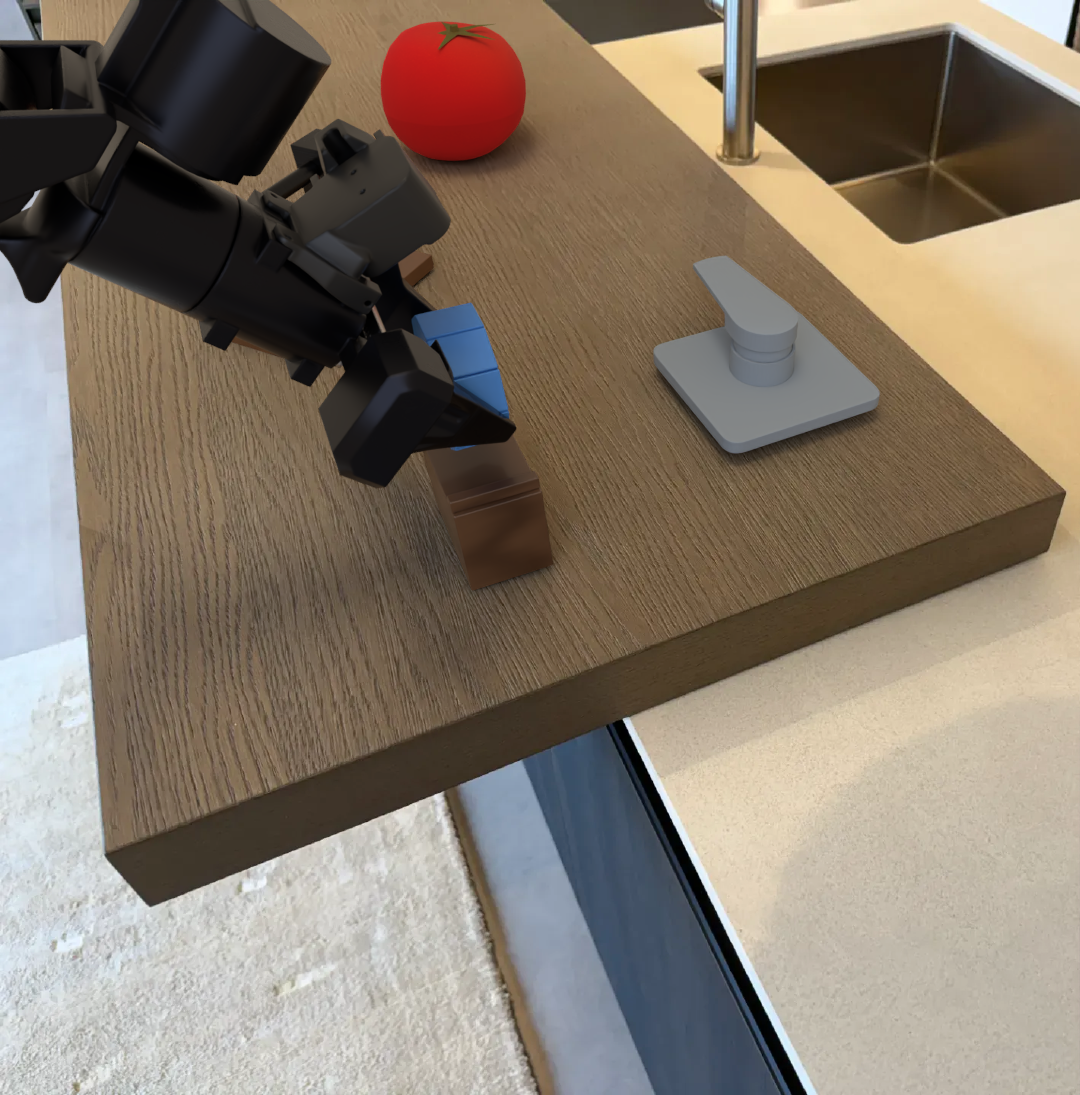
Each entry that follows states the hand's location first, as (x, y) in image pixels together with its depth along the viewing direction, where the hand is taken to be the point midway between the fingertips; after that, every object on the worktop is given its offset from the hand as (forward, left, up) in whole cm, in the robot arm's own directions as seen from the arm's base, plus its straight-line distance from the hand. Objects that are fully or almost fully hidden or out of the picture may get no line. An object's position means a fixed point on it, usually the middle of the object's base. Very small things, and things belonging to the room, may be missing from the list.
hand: (490, 392), depth 57 cm
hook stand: (+1, +31, -10) cm, 32 cm away
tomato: (+22, +48, -10) cm, 54 cm away
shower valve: (+22, +3, -10) cm, 24 cm away
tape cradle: (-1, 0, -10) cm, 10 cm away
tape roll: (-1, 0, -2) cm, 3 cm away
